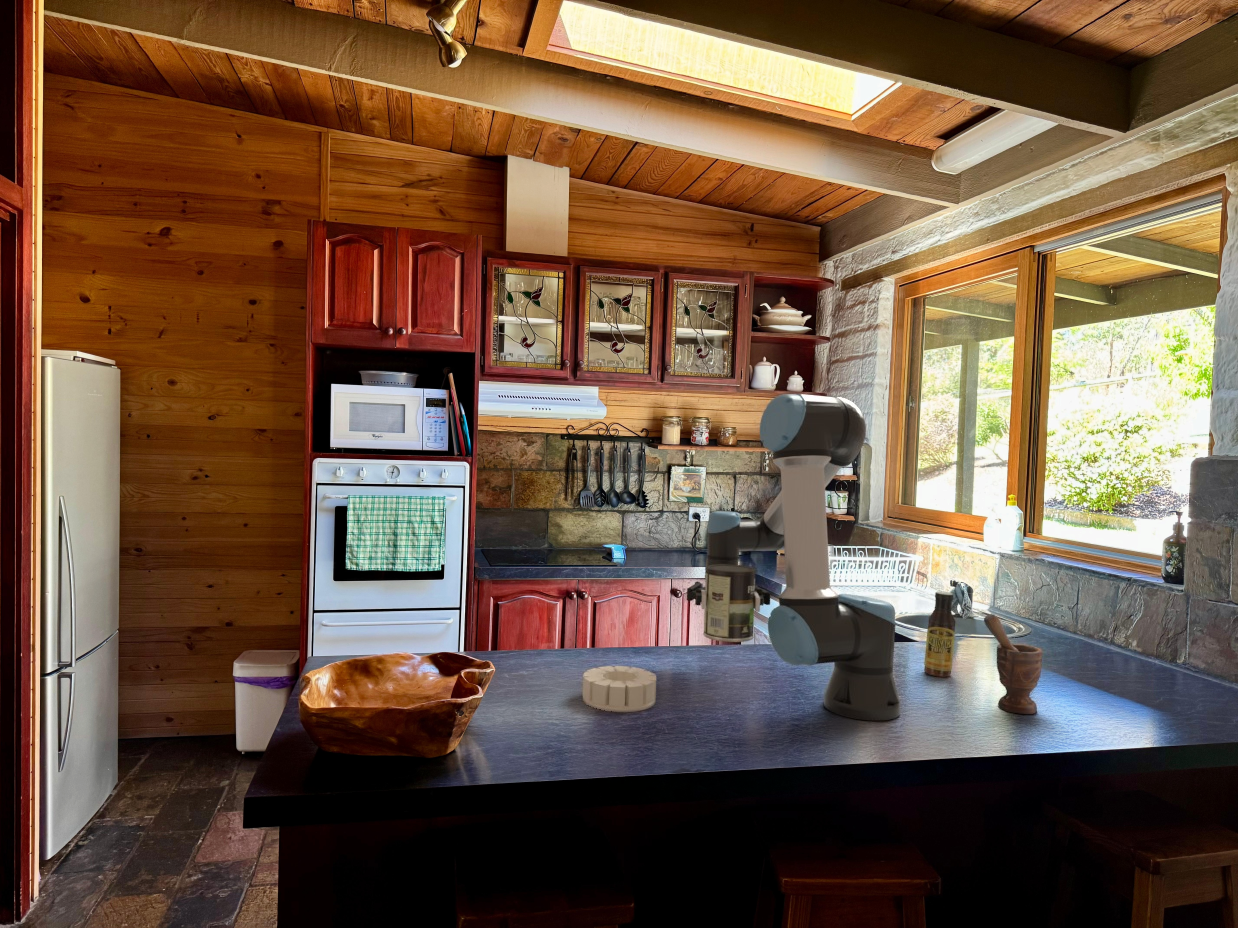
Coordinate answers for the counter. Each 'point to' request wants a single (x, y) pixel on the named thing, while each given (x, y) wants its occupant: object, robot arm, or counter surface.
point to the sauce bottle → (940, 637)
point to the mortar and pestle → (1015, 669)
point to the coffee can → (729, 602)
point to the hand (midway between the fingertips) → (731, 603)
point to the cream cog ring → (619, 688)
